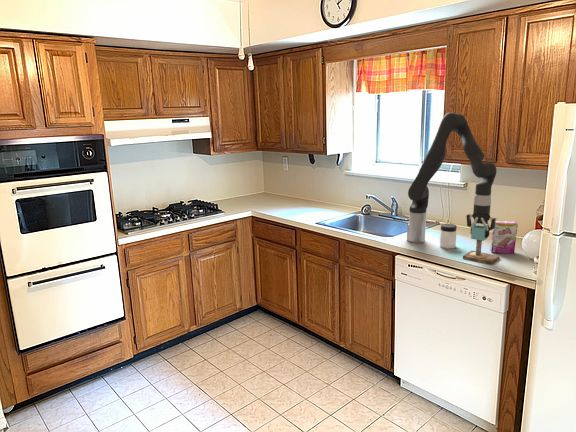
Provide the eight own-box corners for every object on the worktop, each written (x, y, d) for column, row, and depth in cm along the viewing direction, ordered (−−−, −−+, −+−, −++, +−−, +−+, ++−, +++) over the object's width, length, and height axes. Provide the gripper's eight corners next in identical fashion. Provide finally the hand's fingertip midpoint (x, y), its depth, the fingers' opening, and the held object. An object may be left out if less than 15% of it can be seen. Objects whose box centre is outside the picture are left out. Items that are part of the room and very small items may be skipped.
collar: (470, 238, 219) (471, 227, 218) (475, 236, 223) (476, 224, 222) (483, 240, 215) (484, 229, 214) (487, 238, 219) (488, 226, 218)
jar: (444, 249, 236) (446, 228, 233) (436, 245, 244) (437, 224, 241) (459, 247, 239) (460, 226, 236) (449, 243, 246) (451, 222, 243)
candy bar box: (491, 253, 228) (494, 222, 224) (489, 250, 233) (492, 220, 229) (514, 254, 226) (518, 223, 222) (512, 251, 230) (515, 221, 226)
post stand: (462, 258, 221) (464, 239, 219) (471, 253, 229) (472, 234, 227) (491, 264, 212) (493, 244, 210) (499, 258, 220) (501, 239, 217)
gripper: (464, 202, 217) (462, 235, 221) (494, 206, 207) (491, 240, 211) (470, 200, 222) (468, 232, 226) (500, 204, 213) (497, 237, 217)
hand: (479, 236), depth 219 cm, fingers closed on collar, 6 cm apart
